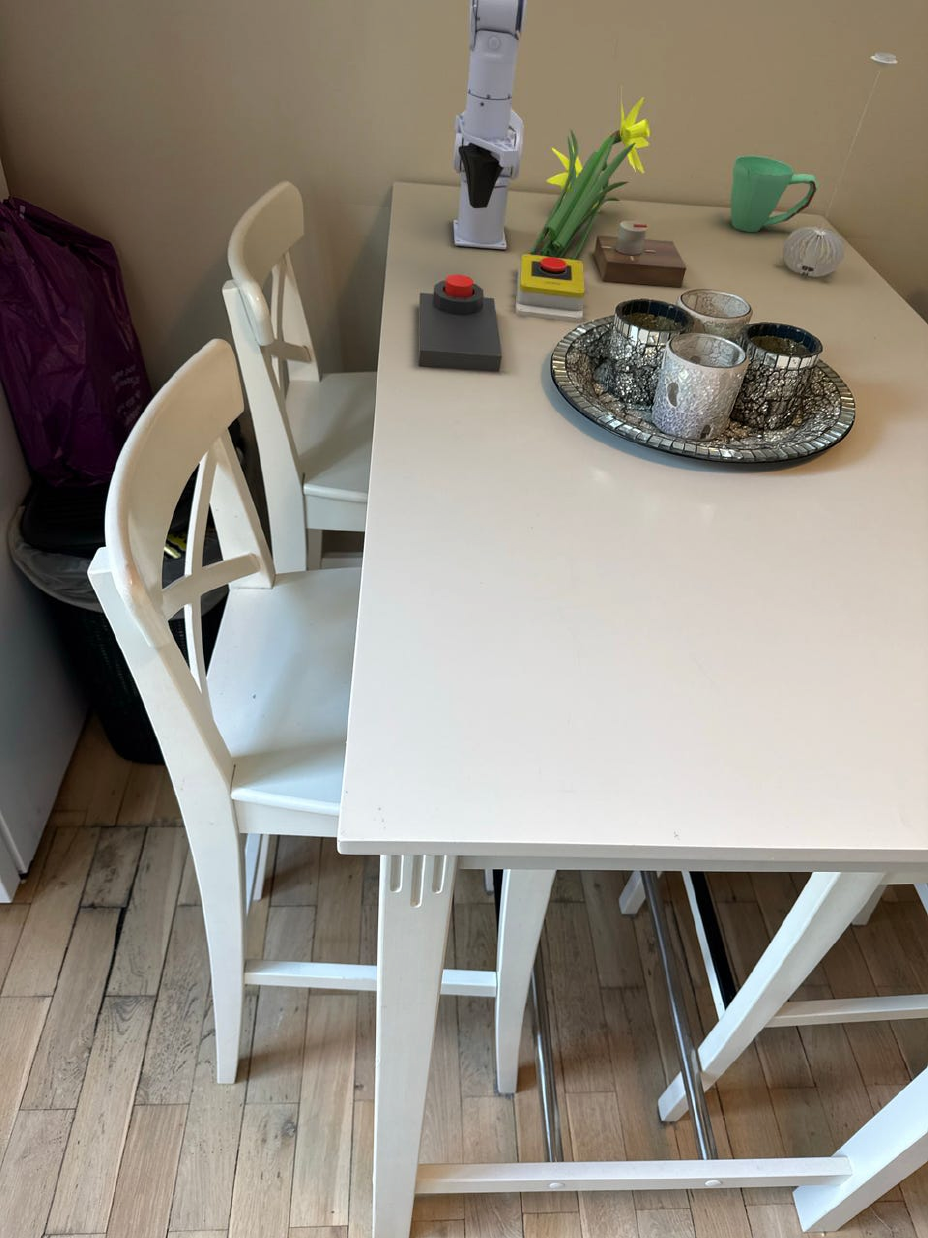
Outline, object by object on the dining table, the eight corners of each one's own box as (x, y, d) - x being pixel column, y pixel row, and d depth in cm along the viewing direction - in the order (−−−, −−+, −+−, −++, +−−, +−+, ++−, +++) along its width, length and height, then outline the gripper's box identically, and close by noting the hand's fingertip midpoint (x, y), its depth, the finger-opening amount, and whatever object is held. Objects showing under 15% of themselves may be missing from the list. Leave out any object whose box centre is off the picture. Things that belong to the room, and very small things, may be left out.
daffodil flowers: (481, 250, 137) (558, 133, 154) (552, 312, 141) (619, 191, 158) (541, 176, 123) (618, 56, 140) (618, 247, 127) (684, 122, 144)
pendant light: (828, 262, 145) (910, 51, 125) (840, 285, 139) (928, 67, 118) (773, 255, 145) (844, 42, 125) (782, 278, 139) (859, 57, 118)
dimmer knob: (617, 253, 132) (622, 227, 129) (613, 243, 134) (618, 217, 132) (643, 255, 132) (649, 229, 129) (638, 245, 135) (644, 219, 132)
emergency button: (585, 248, 128) (588, 291, 118) (579, 277, 131) (582, 323, 121) (521, 240, 128) (519, 283, 117) (517, 270, 131) (515, 314, 120)
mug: (720, 232, 150) (738, 170, 143) (714, 212, 157) (731, 152, 151) (805, 244, 150) (828, 182, 143) (796, 223, 157) (817, 163, 150)
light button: (444, 286, 117) (445, 273, 115) (471, 288, 117) (472, 275, 116) (445, 298, 114) (446, 284, 113) (472, 300, 114) (474, 287, 113)
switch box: (418, 305, 120) (420, 276, 117) (491, 310, 121) (495, 282, 118) (418, 366, 108) (420, 335, 105) (499, 371, 109) (503, 341, 106)
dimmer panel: (593, 254, 138) (597, 233, 136) (667, 260, 140) (673, 240, 137) (602, 281, 131) (606, 260, 129) (681, 287, 132) (686, 266, 130)
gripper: (545, 109, 107) (529, 224, 117) (492, 76, 116) (481, 185, 126) (493, 111, 105) (481, 227, 114) (444, 77, 114) (436, 188, 123)
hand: (478, 205), depth 120 cm, fingers closed
